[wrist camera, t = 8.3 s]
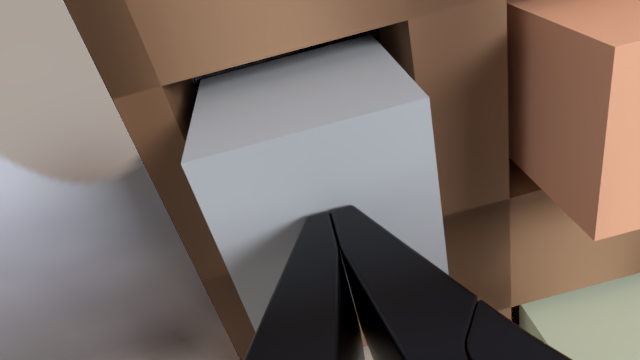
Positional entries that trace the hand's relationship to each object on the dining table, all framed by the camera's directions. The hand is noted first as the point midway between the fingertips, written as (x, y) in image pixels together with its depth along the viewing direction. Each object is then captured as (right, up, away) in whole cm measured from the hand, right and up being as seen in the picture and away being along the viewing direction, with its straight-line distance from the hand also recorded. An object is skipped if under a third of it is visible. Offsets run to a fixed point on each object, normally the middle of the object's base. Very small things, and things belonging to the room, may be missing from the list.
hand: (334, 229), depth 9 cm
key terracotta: (+6, +4, +3) cm, 8 cm away
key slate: (-1, +2, +3) cm, 4 cm away
